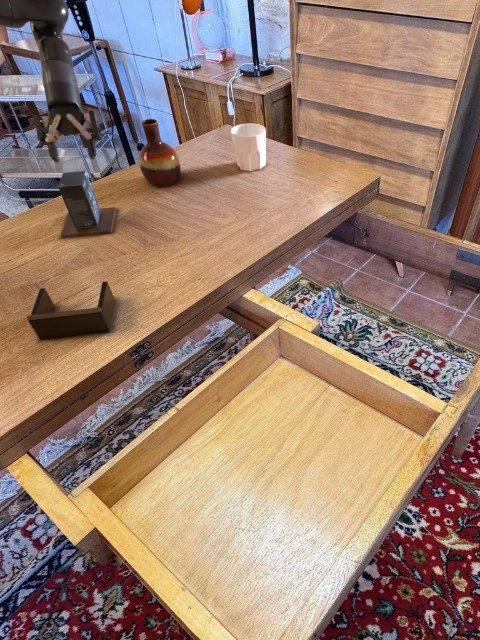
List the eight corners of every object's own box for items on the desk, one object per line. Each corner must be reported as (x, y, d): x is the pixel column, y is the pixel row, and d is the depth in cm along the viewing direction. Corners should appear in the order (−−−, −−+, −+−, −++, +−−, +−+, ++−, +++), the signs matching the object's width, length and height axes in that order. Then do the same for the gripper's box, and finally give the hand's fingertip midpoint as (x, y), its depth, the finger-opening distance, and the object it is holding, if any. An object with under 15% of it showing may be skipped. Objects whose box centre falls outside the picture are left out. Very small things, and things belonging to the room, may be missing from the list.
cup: (229, 170, 132) (224, 134, 124) (244, 157, 138) (240, 121, 130) (259, 175, 129) (256, 139, 122) (273, 162, 135) (271, 126, 127)
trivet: (62, 239, 109) (60, 235, 108) (70, 215, 116) (68, 211, 116) (112, 234, 110) (110, 230, 109) (116, 210, 118) (115, 207, 117)
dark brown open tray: (40, 341, 86) (26, 318, 81) (51, 308, 92) (37, 285, 87) (110, 333, 87) (99, 309, 82) (115, 300, 93) (105, 277, 89)
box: (98, 226, 110) (81, 184, 102) (75, 229, 110) (56, 186, 102) (101, 211, 115) (86, 169, 107) (79, 213, 115) (61, 171, 107)
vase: (148, 173, 131) (132, 114, 119) (185, 172, 132) (173, 113, 120) (141, 190, 124) (123, 130, 112) (180, 189, 125) (167, 129, 113)
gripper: (97, 96, 110) (108, 163, 112) (38, 100, 109) (50, 168, 111) (86, 77, 103) (98, 149, 105) (22, 81, 102) (36, 155, 103)
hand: (73, 159), depth 108 cm, fingers open, 8 cm apart
